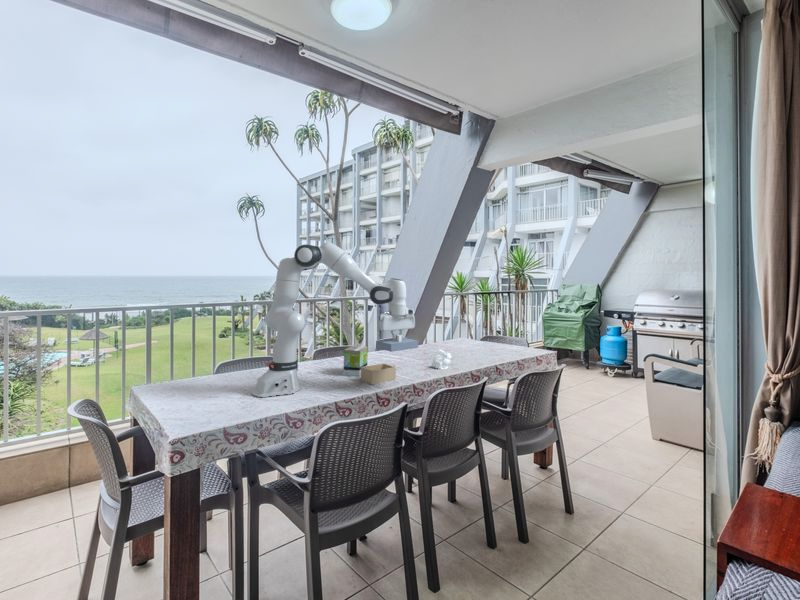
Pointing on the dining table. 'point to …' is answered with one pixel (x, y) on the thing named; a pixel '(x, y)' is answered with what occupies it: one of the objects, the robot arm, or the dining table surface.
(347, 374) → the tea box
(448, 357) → the rabbit
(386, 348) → the mailer lid
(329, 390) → the dining table surface
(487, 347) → the dining table surface
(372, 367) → the mailer box
